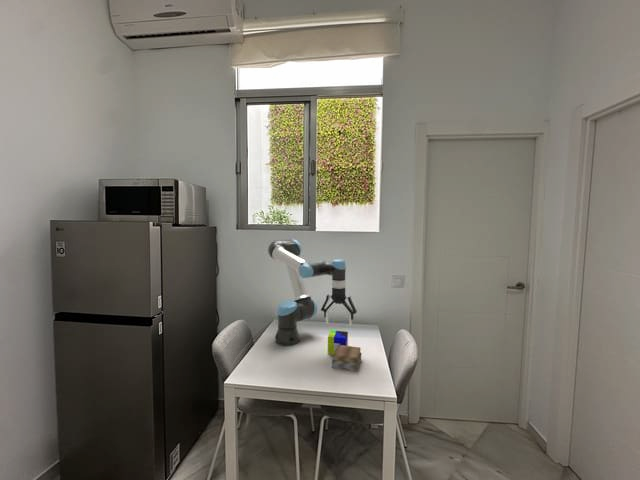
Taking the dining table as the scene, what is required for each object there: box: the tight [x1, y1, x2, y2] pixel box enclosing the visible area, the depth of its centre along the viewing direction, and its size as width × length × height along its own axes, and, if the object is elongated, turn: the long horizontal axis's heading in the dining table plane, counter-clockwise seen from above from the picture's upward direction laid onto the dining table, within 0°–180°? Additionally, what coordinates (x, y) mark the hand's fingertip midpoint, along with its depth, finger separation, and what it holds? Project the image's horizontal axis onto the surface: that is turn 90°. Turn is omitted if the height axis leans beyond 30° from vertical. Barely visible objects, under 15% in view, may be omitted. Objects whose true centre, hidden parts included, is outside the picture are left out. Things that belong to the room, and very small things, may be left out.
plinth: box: [331, 345, 362, 373], centre depth 160 cm, size 13×13×7 cm
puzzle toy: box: [327, 329, 349, 355], centre depth 175 cm, size 10×10×10 cm
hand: (338, 324), depth 174 cm, fingers open, 13 cm apart
